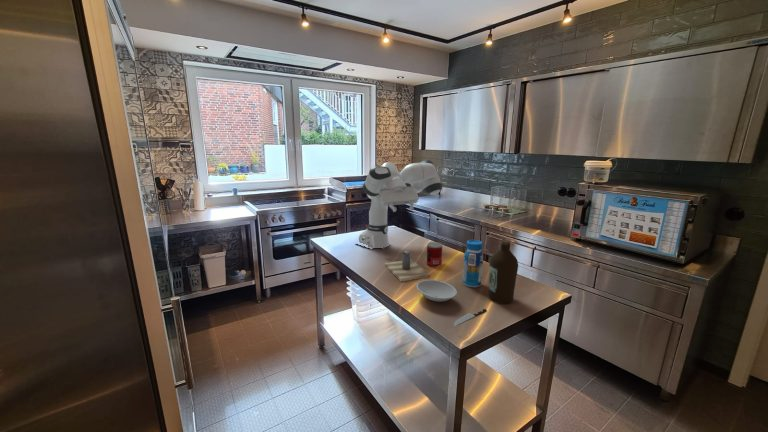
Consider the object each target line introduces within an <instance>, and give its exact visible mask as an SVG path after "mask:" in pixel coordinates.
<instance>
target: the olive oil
mask: <svg viewBox="0 0 768 432" xmlns="http://www.w3.org/2000/svg"><path fill="white" fill-rule="evenodd" d="M510 248H511V240H509V239H501V242H500V249H498V250H497V251H496V252H495V253H493V254H492V256H491V257H490V258H489V259H490V260H489V265H488V266H489V269H488V271H489V273H488V298H489V300H490V301H492V302H493V303H496V304H499V305H509V304H512V303H513V301H514V295H515V289H516V288H515V287H516V281H517V275H518V270H519V262H518V259H517V257H516V255H514V254H513V252H512V251H511V250H510Z"/></svg>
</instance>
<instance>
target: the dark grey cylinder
mask: <svg viewBox="0 0 768 432" xmlns="http://www.w3.org/2000/svg"><path fill="white" fill-rule="evenodd" d="M401 254H402V255H401V258H402V259H401V261H402V269H404V270H410V259H411V252H409V251H407V250H404V251H403V252H402V253H401Z"/></svg>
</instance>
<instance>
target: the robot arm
mask: <svg viewBox="0 0 768 432" xmlns="http://www.w3.org/2000/svg"><path fill="white" fill-rule="evenodd" d="M442 189H443V184H442V183H441V179H440V174H439V173H438V171H437V169H436V166H435V164H434V162H433V161H432V160H429V159H424V160H422V161H420V162H413V163H410V164H407V165H405V166H404V167H403V168H402V170H401V171H400V172H399V170H398V168H397V166H396V164H394V163H393V162H391V161H388V162H384V163H383V164H382V165H376V166H372V167H371V168H370V169H369V171H368V173H367V176H366V177H365V181H364V183H363V184H362V190H363V192H364V193H365V194H366V196H367V197H368V198H369V199H370V200H371V201H370V202H371V203H370V209H369V210H368V217H369V218H368V221H369V223H367V224H366V229H365V230H364V231H362V232H361V233H360V234H359V236H358V240H359V242H360V243H363V244H366V245H368V248H382V247H387V246H389V244H390V241H389V235H388V234H389V233H388V231H389V223H388V208H390V209H391V210H392V212H393V213H396V212H397V211H398V210H397V207H396V205H397V206H398V205H407V204H408V205H410V206H409V210H410V211H414V209H415V208H414V204H417V203H418V202H419V195H418V194H419V193H421V192H422V193H423V194H426V195H428V196H435V195H438V194H439V193H440V192H442ZM389 247H390V246H389ZM387 248H388V247H387ZM382 249H383V248H382Z"/></svg>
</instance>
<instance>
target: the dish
mask: <svg viewBox="0 0 768 432" xmlns="http://www.w3.org/2000/svg"><path fill="white" fill-rule="evenodd" d="M415 288H416V289H417V291H418V292H419V293H421V295H422V296H424V297H425V298H426V299H428V300H430V301H433V302H439V303H440V302H446V301H449V300H450V299H452V298H455V297H456V296H457V294H458V291H457V289H456V288H455V286H453V285H452V284H450V283H448V282H445V281H443V280H442V281H441V280H439V279H438V280H437V279H422V280H420V281H418V282H417V283H416V287H415Z"/></svg>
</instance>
